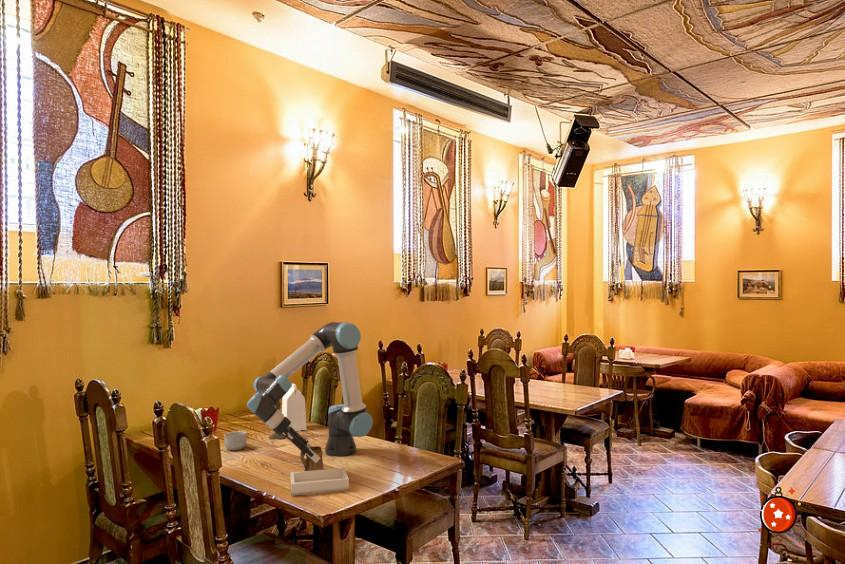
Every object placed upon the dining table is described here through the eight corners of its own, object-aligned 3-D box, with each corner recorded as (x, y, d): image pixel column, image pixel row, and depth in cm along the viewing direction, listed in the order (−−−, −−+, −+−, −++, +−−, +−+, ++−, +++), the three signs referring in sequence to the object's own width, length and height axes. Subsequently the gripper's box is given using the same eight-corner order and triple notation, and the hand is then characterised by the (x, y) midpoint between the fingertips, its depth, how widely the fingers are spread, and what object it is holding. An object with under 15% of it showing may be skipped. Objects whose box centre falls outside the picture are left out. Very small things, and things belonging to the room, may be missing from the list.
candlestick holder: (285, 434, 308) (284, 380, 309) (287, 438, 300) (287, 382, 300) (268, 436, 305) (267, 381, 306) (269, 440, 296) (269, 384, 297)
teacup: (239, 452, 274) (239, 436, 274) (219, 451, 276) (219, 435, 276) (253, 445, 287) (253, 429, 288) (234, 444, 290) (234, 428, 290)
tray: (344, 478, 233) (344, 467, 233) (348, 490, 219) (348, 478, 219) (290, 483, 228) (290, 472, 228) (291, 496, 213) (291, 484, 213)
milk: (281, 428, 323) (281, 383, 324) (300, 426, 329) (300, 382, 330) (286, 432, 313) (286, 386, 314) (306, 430, 318) (306, 384, 319)
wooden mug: (290, 476, 236) (290, 433, 237) (318, 469, 245) (318, 428, 245) (299, 481, 230) (300, 437, 230) (328, 474, 238) (328, 432, 239)
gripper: (272, 424, 244) (309, 458, 248) (271, 435, 225) (312, 471, 229) (284, 411, 246) (321, 445, 250) (285, 421, 226) (325, 457, 230)
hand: (317, 457), depth 239 cm, fingers closed on wooden mug, 7 cm apart
